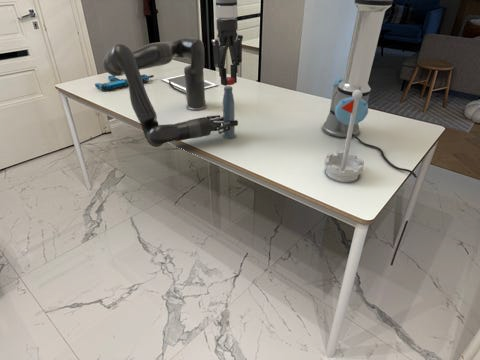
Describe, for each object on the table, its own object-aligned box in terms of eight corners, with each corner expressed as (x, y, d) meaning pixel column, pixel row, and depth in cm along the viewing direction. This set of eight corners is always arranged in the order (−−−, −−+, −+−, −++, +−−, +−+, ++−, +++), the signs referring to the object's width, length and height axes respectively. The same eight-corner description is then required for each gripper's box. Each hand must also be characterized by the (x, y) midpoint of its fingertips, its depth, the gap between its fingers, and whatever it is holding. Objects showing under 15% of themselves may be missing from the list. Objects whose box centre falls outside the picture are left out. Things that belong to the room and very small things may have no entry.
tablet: (161, 80, 213) (161, 79, 212) (188, 74, 224) (188, 73, 223) (189, 92, 192) (189, 92, 192) (218, 85, 203) (218, 84, 203)
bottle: (232, 139, 143) (232, 89, 132) (222, 137, 144) (220, 88, 133) (236, 134, 147) (235, 86, 135) (225, 133, 148) (224, 84, 136)
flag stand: (346, 161, 127) (361, 81, 110) (369, 179, 117) (390, 94, 100) (316, 168, 123) (327, 86, 106) (337, 186, 113) (353, 99, 96)
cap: (233, 81, 135) (233, 76, 134) (235, 84, 132) (235, 79, 131) (222, 82, 135) (221, 77, 134) (224, 85, 131) (224, 80, 130)
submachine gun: (139, 68, 225) (158, 74, 208) (140, 74, 226) (158, 80, 210) (87, 78, 206) (103, 86, 189) (89, 84, 208) (104, 92, 191)
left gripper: (203, 126, 129) (242, 117, 136) (189, 113, 140) (227, 106, 146) (204, 143, 133) (242, 134, 140) (191, 130, 144) (227, 122, 150)
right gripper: (238, 14, 128) (238, 77, 140) (200, 20, 118) (205, 86, 131) (251, 16, 123) (251, 80, 136) (214, 22, 113) (217, 90, 126)
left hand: (234, 120), depth 143 cm, fingers closed on bottle, 4 cm apart
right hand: (228, 83), depth 133 cm, fingers closed on cap, 4 cm apart
